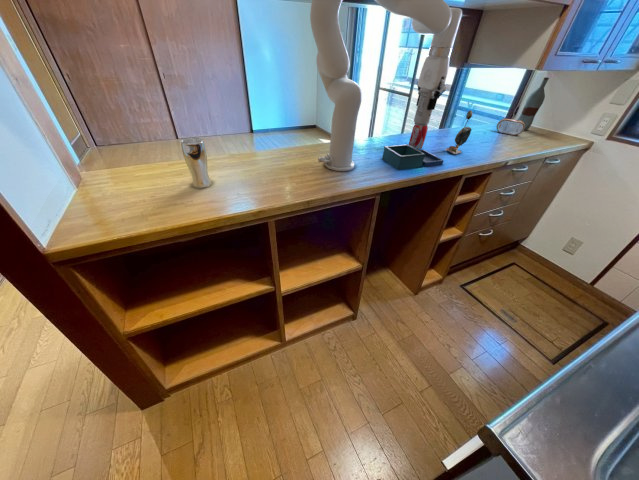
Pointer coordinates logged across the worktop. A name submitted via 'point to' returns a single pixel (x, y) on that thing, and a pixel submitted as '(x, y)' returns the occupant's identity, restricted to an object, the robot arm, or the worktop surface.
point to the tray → (431, 159)
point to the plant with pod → (461, 136)
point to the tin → (510, 126)
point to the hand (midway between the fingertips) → (425, 107)
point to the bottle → (533, 105)
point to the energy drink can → (423, 108)
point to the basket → (403, 156)
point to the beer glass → (196, 161)
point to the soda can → (418, 136)
